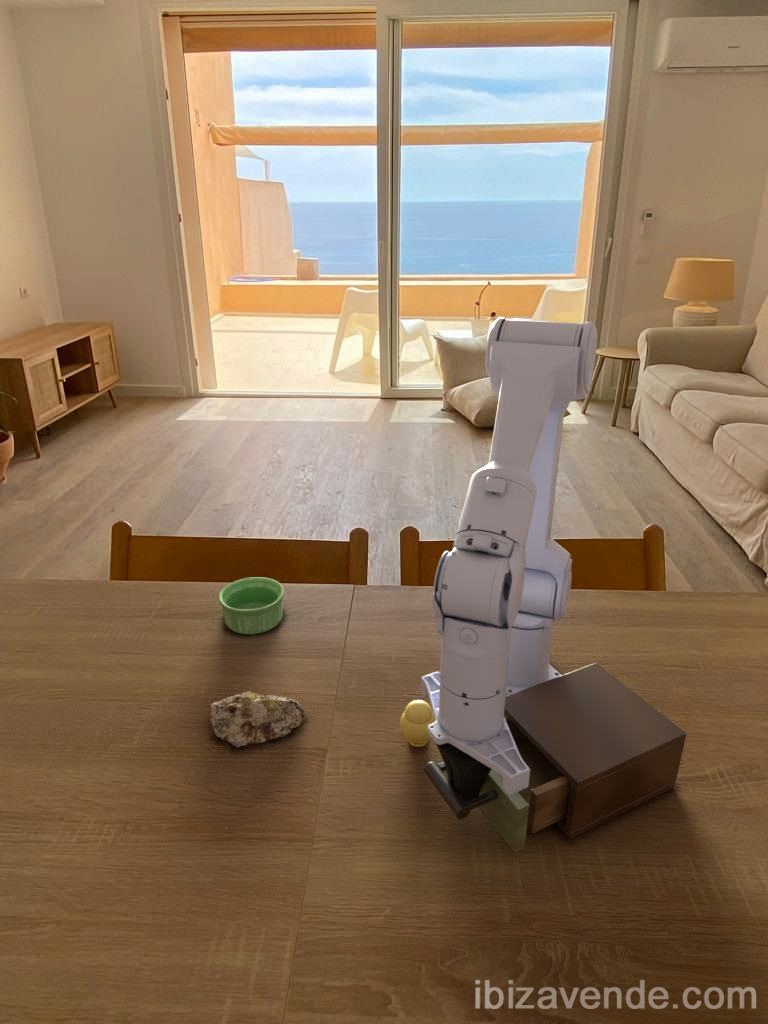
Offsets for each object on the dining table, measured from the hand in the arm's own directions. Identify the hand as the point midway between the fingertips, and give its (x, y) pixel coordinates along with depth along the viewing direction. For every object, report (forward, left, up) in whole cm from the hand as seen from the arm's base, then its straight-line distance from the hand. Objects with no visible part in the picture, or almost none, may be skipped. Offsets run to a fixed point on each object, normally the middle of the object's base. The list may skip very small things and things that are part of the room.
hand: (465, 796), depth 65 cm
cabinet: (0, +15, -3) cm, 15 cm away
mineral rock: (-22, -13, -4) cm, 26 cm away
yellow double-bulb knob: (-12, +2, -3) cm, 12 cm away
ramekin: (-43, -7, -4) cm, 44 cm away
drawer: (0, +6, -2) cm, 6 cm away
